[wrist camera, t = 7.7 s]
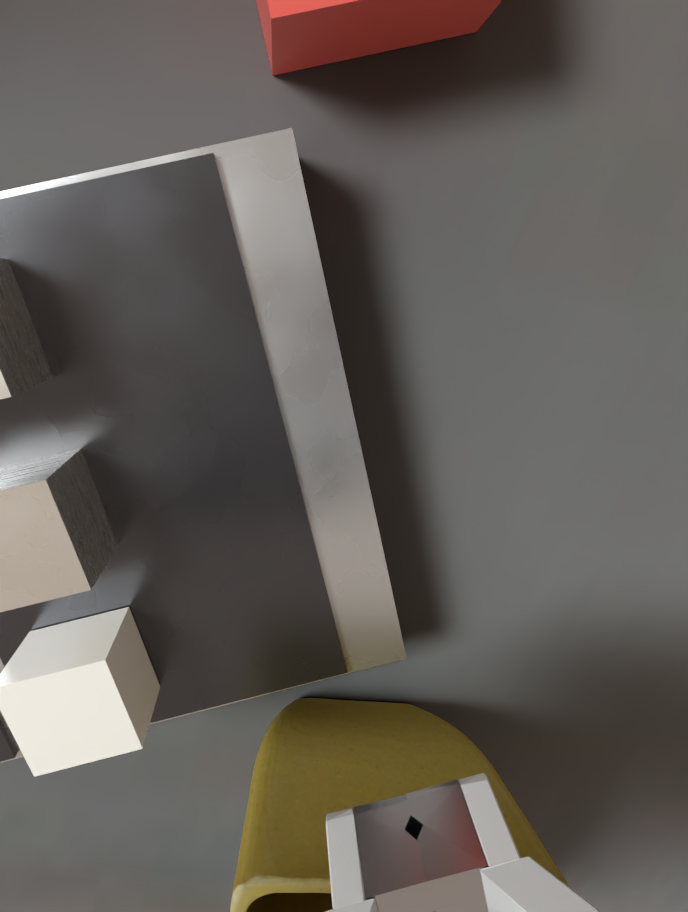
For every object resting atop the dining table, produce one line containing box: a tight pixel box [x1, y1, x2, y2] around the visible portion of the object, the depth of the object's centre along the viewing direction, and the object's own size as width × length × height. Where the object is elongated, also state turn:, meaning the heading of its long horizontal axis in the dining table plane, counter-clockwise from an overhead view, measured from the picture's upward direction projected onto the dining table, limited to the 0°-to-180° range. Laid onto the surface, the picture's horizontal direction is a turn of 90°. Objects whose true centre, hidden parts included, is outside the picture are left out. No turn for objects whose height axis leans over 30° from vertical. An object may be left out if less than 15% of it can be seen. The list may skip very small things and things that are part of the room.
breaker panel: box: [0, 128, 407, 763], centre depth 16 cm, size 18×16×6 cm
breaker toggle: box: [0, 607, 160, 777], centre depth 16 cm, size 3×3×2 cm
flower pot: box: [230, 698, 569, 912], centre depth 19 cm, size 9×9×9 cm
